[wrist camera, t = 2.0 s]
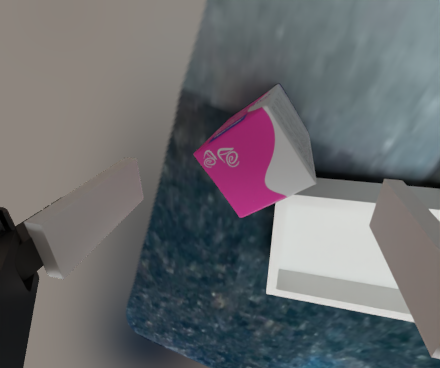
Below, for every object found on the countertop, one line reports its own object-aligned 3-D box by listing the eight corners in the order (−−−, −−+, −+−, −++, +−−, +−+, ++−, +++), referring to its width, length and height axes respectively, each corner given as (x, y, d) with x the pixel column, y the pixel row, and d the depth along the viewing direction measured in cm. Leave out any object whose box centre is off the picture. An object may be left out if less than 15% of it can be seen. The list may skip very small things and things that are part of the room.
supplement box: (278, 79, 23) (269, 102, 13) (309, 133, 24) (322, 188, 15) (228, 115, 26) (190, 155, 16) (259, 161, 27) (242, 224, 17)
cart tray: (269, 256, 33) (266, 293, 28) (279, 166, 27) (276, 192, 22) (437, 283, 29) (468, 332, 24) (493, 184, 23) (550, 221, 18)
